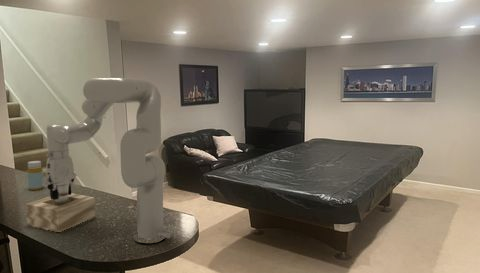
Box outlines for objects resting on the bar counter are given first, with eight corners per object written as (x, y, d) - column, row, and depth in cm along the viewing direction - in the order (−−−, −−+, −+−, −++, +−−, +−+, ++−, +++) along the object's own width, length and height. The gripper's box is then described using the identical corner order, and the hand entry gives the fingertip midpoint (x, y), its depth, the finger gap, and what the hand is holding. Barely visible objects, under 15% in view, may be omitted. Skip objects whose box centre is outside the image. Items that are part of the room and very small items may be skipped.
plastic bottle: (54, 214, 144) (51, 168, 141) (72, 212, 147) (69, 167, 144) (52, 219, 138) (48, 172, 135) (70, 217, 141) (67, 170, 138)
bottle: (30, 187, 188) (28, 160, 186) (44, 186, 190) (43, 160, 188) (27, 191, 182) (25, 163, 180) (41, 190, 184) (40, 163, 182)
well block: (95, 217, 148) (94, 197, 146) (59, 233, 131) (57, 211, 130) (65, 210, 154) (64, 191, 153) (27, 225, 138) (25, 203, 137)
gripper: (45, 159, 129) (49, 204, 132) (82, 151, 145) (84, 192, 148) (32, 157, 132) (35, 201, 135) (69, 150, 148) (72, 190, 151)
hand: (61, 196), depth 141 cm, fingers closed on plastic bottle, 6 cm apart
